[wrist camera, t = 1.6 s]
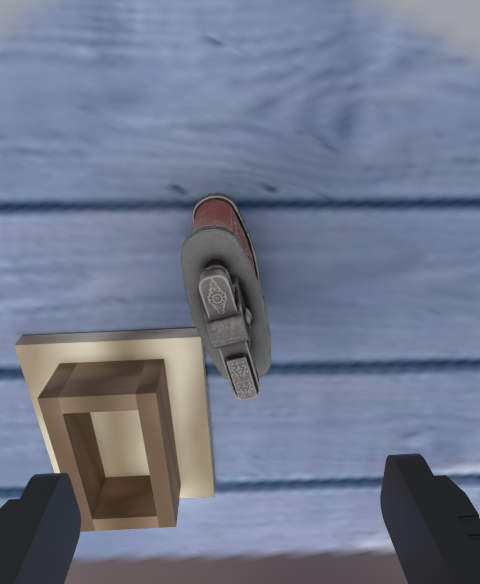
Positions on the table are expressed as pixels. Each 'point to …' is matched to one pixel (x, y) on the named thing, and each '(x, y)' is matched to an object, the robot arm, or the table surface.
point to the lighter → (227, 294)
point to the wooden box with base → (124, 421)
